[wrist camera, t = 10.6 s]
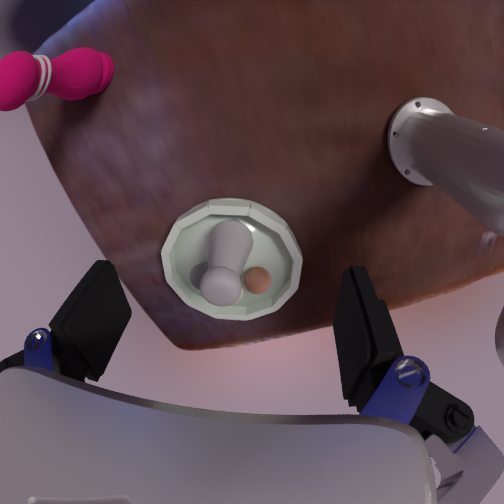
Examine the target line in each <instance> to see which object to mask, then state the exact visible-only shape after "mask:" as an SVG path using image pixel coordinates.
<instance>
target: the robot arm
mask: <svg viewBox="0 0 504 504" xmlns="http://www.w3.org/2000/svg"><path fill="white" fill-rule="evenodd" d="M415 103H416V105H415ZM393 132H395V134H394V135H393ZM387 143H388V150H389V154H390V157H391V160H392V162H393V164H394V166H395V167H396V169H397V170H398V171H399V172H400V173H401V174H402V175H403V176H404V177H405V178H406V179H408V180H409V181H411V182H413V183H415V184H418V185H423V186H430V185H435V186H436V187H437V188H439V189H440V190H441V191H443V192H444V193H445V194H447V195H448V196H449V197H450V198H452V199H453V200H454V201H455V202H457V203H458V204H459V205H460V206H462V207H463V208H464V209H465V210H466V211H467V212H469V213H470V214H471V215H472V216H473V217H475V218H476V219H477V220H478V221H479V222H480V223H481V224H483V225H484V226H485V227H486V228H487V229H489V230H490V231H492V232H494V233H496V234H498V235H502V236H504V131H502V130H500V129H497V128H494V127H491V126H488V125H486V124H483V123H480V122H476V121H473V120H470V119H467V118H463V117H460V116H456V115H454V114H453V113H452V112H451V111H450V109H449V108H448V107H447V106H445V105H444V104H443V103H442V102H440V101H438V100H435V99H432V98H427V97H417V98H413V99H410V100H408V101H406V102H405V103H403V104H402V105H401V106H400V107H399V108H398V109H397V110H396V112H395V113H394V115H393V117H392V119H391V122H390V125H389V129H388V141H387ZM405 170H406V171H405ZM131 314H132V312H131V308H130V306H129V303H128V301H127V298H126V296H125V293H124V291H123V288H122V285H121V283H120V280H119V278H118V275H117V272H116V269H115V267H114V265H113V264H111V262H110V261H108V260H97V261H96V262H95V263H94V264H93V265H92V267H91V268H90V269H89V271H88V272H87V273H86V274H85V276H84V277H83V278H82V279H81V281H80V282H79V283H78V284H77V286H76V287H75V288H74V290H73V291H72V292H71V294H70V295H69V296H68V298H67V299H66V301H65V302H64V303H63V305H62V306H61V308H60V309H59V310H58V312H57V313H56V315H55V316H54V318H53V319H52V320H51V322H50V323H49V326H50V328H51V329H52V330H51V332H49V331H48V330H47V329H46V328H38V329H35V330H34V331H32V332H31V333H30V334H29V335H28V336H27V338H26V340H25V343H24V350H22V351H20V352H18V353H16V354H14V355H12V356H10V357H8V358H6V359H4V360H3V361H1V362H0V504H479V503H480V502H481V501H482V499H483V498H484V497H485V495H486V494H487V493H488V492H489V490H490V489H491V488H492V486H493V485H494V484H495V483H496V481H497V480H498V479H499V477H500V476H501V474H502V472H503V470H504V456H503V454H502V453H501V451H500V450H499V449H498V448H497V447H496V445H495V444H494V443H493V442H492V440H491V439H490V438H489V437H488V435H487V434H486V433H485V432H484V431H483V429H482V428H481V427H480V426H478V427H475V425H474V414H473V411H472V410H471V408H470V407H469V406H468V405H467V404H466V403H464V402H463V401H461V400H459V399H458V398H456V397H454V396H453V395H451V394H450V393H448V392H447V391H445V390H443V389H442V388H440V387H438V386H437V385H435V384H434V383H432V382H430V371H429V369H428V367H427V365H426V364H425V363H424V362H423V361H422V360H420V359H419V358H417V357H414V356H404V354H403V351H402V348H401V345H400V342H399V339H398V336H397V333H396V330H395V327H394V325H393V322H392V319H391V316H390V314H389V311H388V308H387V306H386V303H385V301H383V300H378V298H377V295H376V293H375V290H374V287H373V285H372V282H371V280H370V277H369V275H368V272H367V270H366V267H365V266H350V267H349V270H345V271H344V274H343V279H342V284H341V288H340V293H339V298H338V302H337V306H336V311H335V315H334V319H333V329H334V335H335V341H336V348H337V354H338V361H339V368H340V375H341V383H342V391H343V397H344V400H347V399H348V403H349V407H350V406H356V407H357V412H359V413H360V414H359V415H350V414H348V415H347V414H346V415H344V414H343V415H269V414H249V413H236V412H225V411H215V410H207V409H199V408H192V407H186V406H179V405H174V404H168V403H163V402H158V401H153V400H148V399H143V398H139V397H135V396H130V395H126V394H122V393H119V392H114V391H111V390H107V389H104V388H100V387H97V386H94V385H91V384H88V383H85V380H84V379H85V377H87V378H88V379H89V380H93V381H96V382H98V380H99V378H100V376H102V375H103V374H104V371H105V369H106V367H107V365H108V363H109V361H110V359H111V356H112V354H113V352H114V350H115V348H116V346H117V344H118V342H119V340H120V338H121V336H122V333H123V332H124V330H125V328H126V326H127V324H128V322H129V320H130V318H131ZM495 345H496V350H497V354H498V357H499V359H500V361H501V363H502V364H503V366H504V307H503V309H502V311H501V314H500V316H499V319H498V322H497V325H496V330H495ZM430 457H432V458H433V459H434V461H435V462H436V464H435V466H436V467H437V468H438V470H439V472H440V474H441V482H440V485H439V487H438V488H437V489H436V484H435V477H434V471H433V466H432V462H431V458H430Z"/></svg>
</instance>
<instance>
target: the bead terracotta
mask: <svg viewBox="0 0 504 504" xmlns="http://www.w3.org/2000/svg"><path fill="white" fill-rule="evenodd" d="M244 285H245V287H246V289H247V290H248V291H249V292H251V293H253V294H262V293H264V292H266V291H267V290H268V289H269V287H270V285H271V275H270V273H269V272H268V271H267V270H266V269H265V268H263V267H252V268H250V269H249V270H248V271H247V272H246V273H245V276H244Z"/></svg>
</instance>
